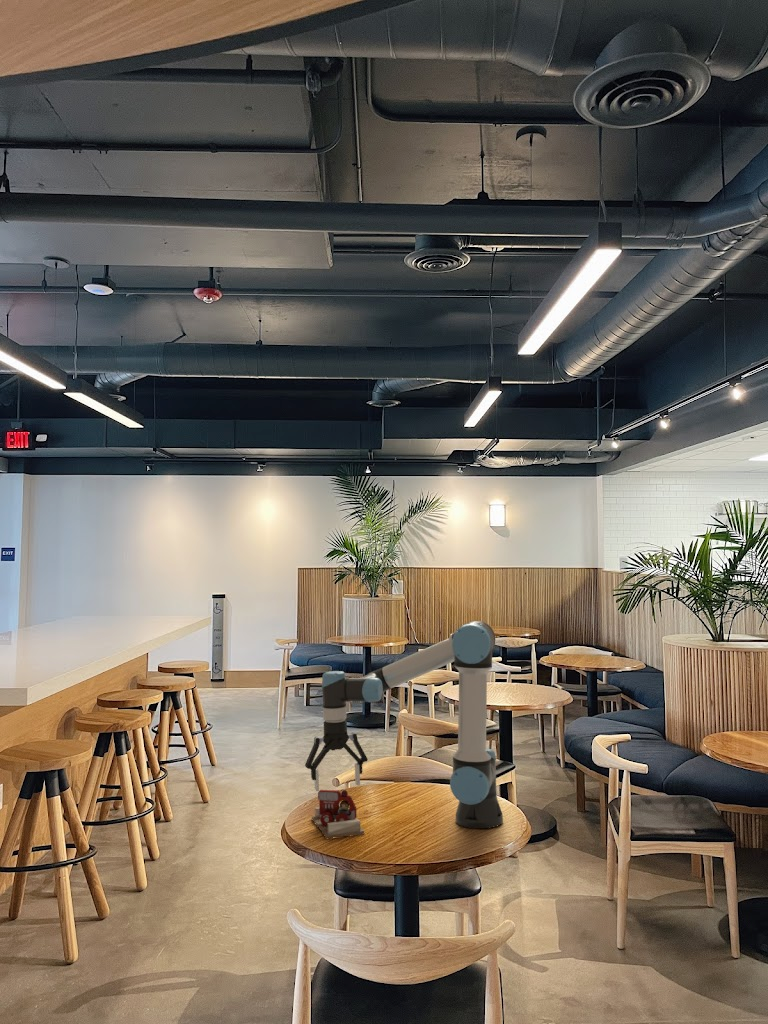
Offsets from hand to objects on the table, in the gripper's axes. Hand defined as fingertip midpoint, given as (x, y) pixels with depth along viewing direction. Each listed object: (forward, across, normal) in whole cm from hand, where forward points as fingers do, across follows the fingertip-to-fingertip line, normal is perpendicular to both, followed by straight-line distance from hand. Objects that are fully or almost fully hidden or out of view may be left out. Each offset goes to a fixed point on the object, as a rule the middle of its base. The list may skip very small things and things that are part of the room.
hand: (337, 787), depth 246 cm
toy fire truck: (+12, 0, 0) cm, 12 cm away
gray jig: (+12, 0, 0) cm, 12 cm away
